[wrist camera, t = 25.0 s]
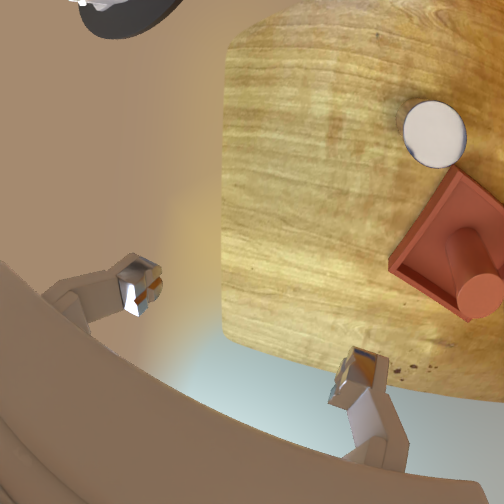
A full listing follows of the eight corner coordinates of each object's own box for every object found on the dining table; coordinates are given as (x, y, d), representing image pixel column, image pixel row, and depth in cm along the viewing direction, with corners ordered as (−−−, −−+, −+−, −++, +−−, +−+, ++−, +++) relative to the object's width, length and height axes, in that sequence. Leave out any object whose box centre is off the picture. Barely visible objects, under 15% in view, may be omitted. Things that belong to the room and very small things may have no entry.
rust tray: (388, 258, 36) (387, 271, 34) (452, 163, 27) (458, 170, 25) (465, 309, 34) (468, 323, 32) (530, 231, 25) (538, 242, 23)
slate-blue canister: (385, 115, 28) (389, 124, 20) (422, 88, 24) (440, 87, 17) (415, 156, 29) (428, 181, 21) (452, 130, 25) (478, 147, 17)
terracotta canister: (437, 241, 32) (449, 290, 24) (473, 219, 28) (496, 263, 21) (455, 273, 33) (466, 326, 25) (489, 254, 29) (510, 303, 21)
